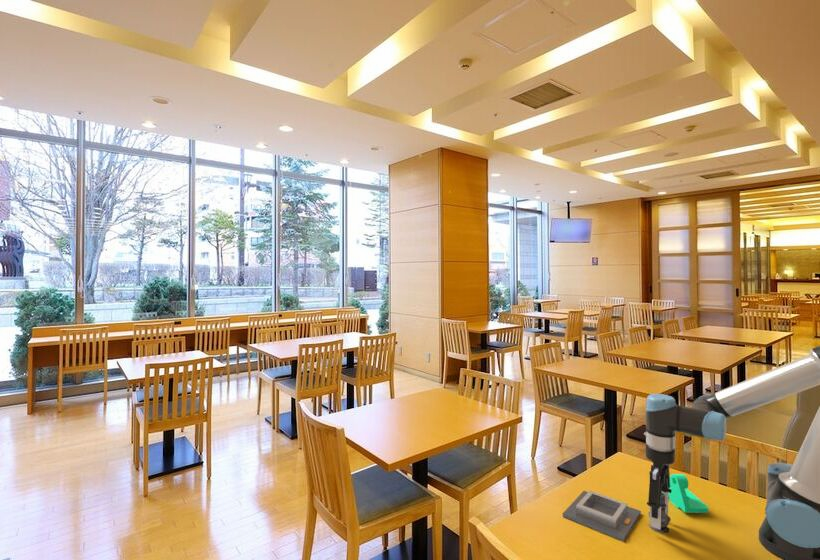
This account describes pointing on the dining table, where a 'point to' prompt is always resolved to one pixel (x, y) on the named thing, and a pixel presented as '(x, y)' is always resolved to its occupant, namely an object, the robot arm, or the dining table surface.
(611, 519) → the plate
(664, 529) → the gray metallic stepped cylinder
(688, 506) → the camera mount
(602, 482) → the dining table surface
